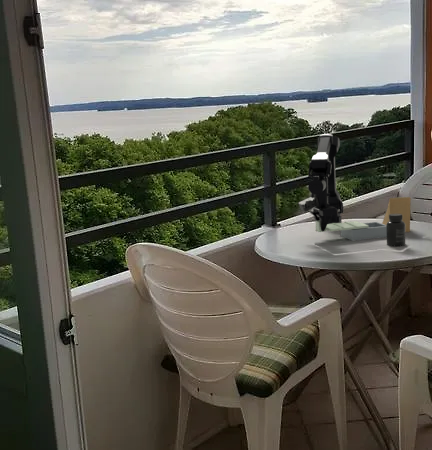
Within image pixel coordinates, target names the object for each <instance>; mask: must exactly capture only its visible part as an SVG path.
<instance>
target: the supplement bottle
mask: <svg viewBox="0 0 432 450" xmlns="http://www.w3.org/2000/svg"><path fill="white" fill-rule="evenodd" d="M402 219H403V218H402V214H389V220H390V221H389V222H387V224H386V235H387V237H386V246H389V247H395V248H397V247H399V248H400V247H405V246H406V232H405V223H404V222H403V221H402Z"/></svg>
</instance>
